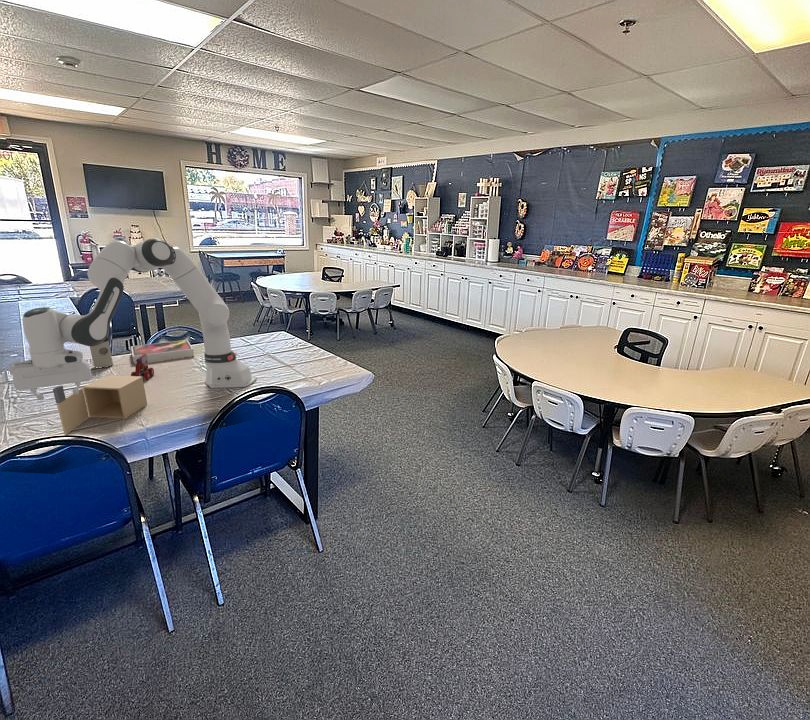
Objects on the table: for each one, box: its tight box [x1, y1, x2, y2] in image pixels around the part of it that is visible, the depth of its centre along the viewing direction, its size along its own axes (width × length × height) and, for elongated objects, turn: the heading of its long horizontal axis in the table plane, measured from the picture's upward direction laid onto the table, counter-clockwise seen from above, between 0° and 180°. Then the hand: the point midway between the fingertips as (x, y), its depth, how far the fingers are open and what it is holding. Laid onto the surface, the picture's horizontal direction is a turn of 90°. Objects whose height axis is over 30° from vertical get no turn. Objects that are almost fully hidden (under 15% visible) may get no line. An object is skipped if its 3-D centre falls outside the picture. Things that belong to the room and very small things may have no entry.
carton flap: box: [52, 385, 90, 436], centre depth 149 cm, size 14×1×17 cm, turn 9°
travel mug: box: [89, 336, 114, 368], centre depth 211 cm, size 8×8×18 cm
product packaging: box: [130, 339, 195, 365], centre depth 232 cm, size 22×28×5 cm
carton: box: [82, 374, 148, 419], centre depth 163 cm, size 14×13×12 cm
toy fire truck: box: [130, 354, 155, 381], centre depth 198 cm, size 7×12×10 cm, turn 11°
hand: (58, 396), depth 142 cm, fingers open, 8 cm apart
